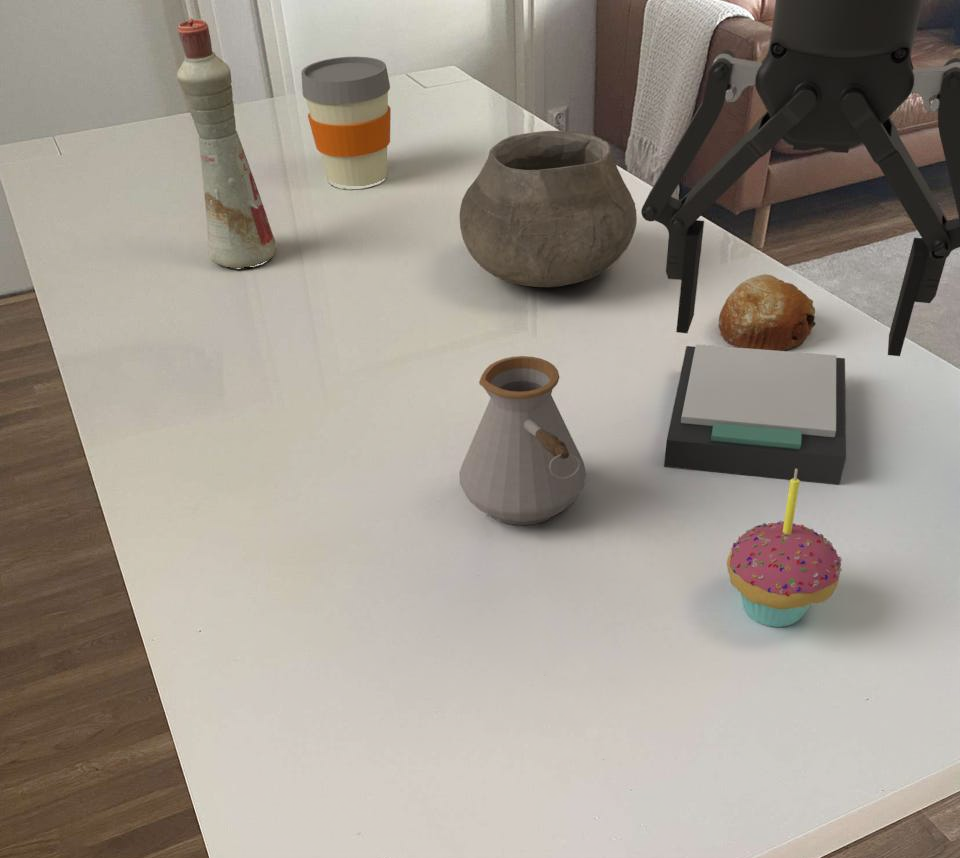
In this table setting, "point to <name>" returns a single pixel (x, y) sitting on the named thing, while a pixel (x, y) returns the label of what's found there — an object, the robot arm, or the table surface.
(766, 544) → the cupcake
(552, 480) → the coffee pot
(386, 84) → the reusable coffee cup
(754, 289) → the bread roll
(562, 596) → the table surface
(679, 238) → the robot arm
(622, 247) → the clay pot
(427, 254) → the table surface
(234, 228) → the bottle
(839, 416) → the scale
